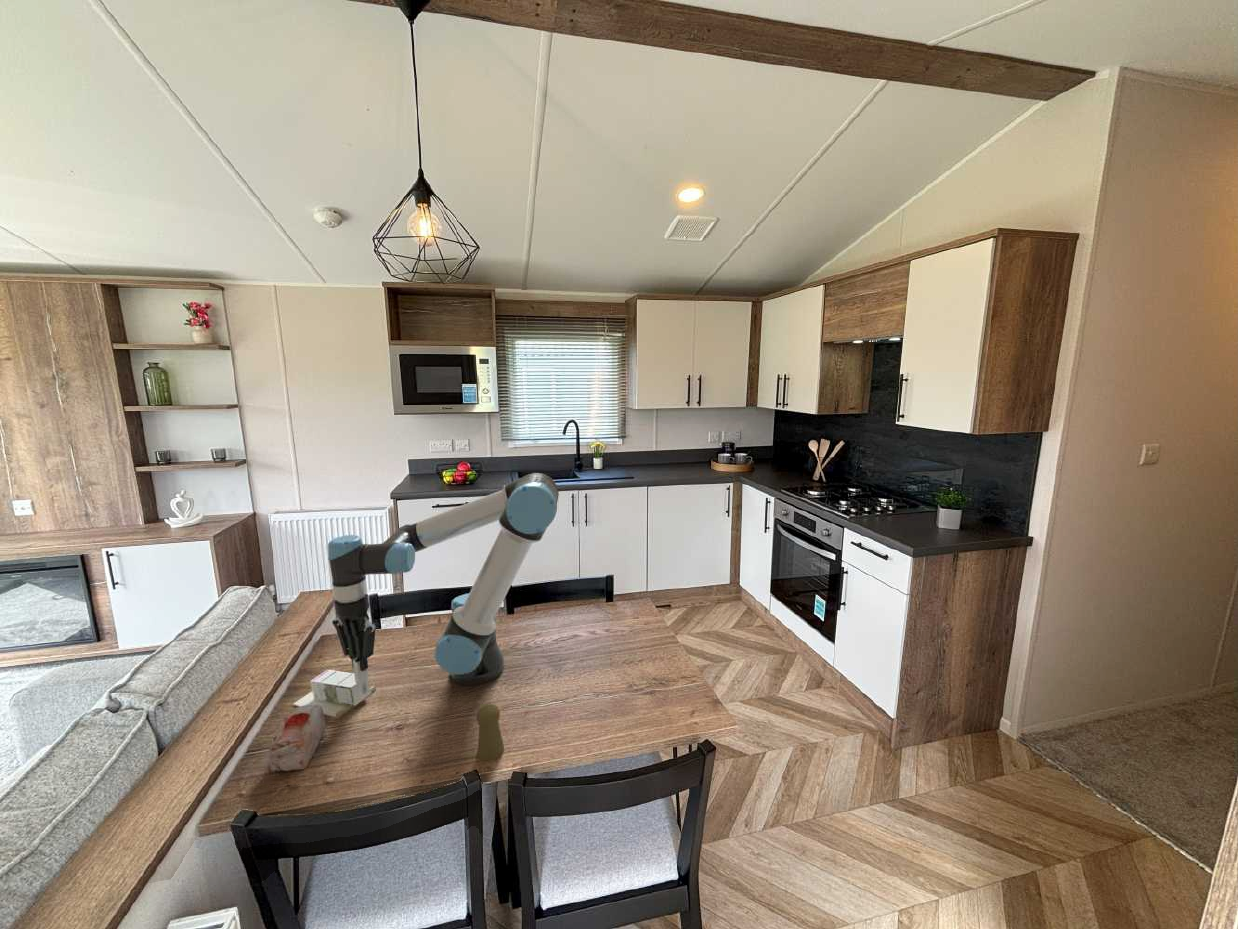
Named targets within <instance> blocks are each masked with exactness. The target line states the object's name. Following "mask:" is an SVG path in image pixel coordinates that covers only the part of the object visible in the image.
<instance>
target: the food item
mask: <svg viewBox="0 0 1238 929" xmlns="http://www.w3.org/2000/svg"><path fill="white" fill-rule="evenodd" d="M324 715H325V714H323V710H322V706H320V705H305V706H299V707H298V706H296V708H294V711H293V712H292V713H291V715H290V716H289V717H286V716H285V717H283V723H284V725H283V728H282V729H281V731H280V732H279V730H280V729H279V728H278V729H277V731H276V733H274V736H273V737H272V740H271V744H270V746H269V750H268V753H267V756H268V757H269V759H268V760H269V765H270V770H271V771H273V772H274V773H275V771H278V772H280V771H285V772H288V771H297V770H298V771H301V770H306V769H307V768H308V766H309V763H310V762H311V760H312V758H313V756H314V754H315V752H316V749H317V747H318V746H319V743H320V742H321V740H322V737H323V735H324V733H325V731H326V729H327V726H326V725H327V724H326V720H325V716H324Z"/></svg>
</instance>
